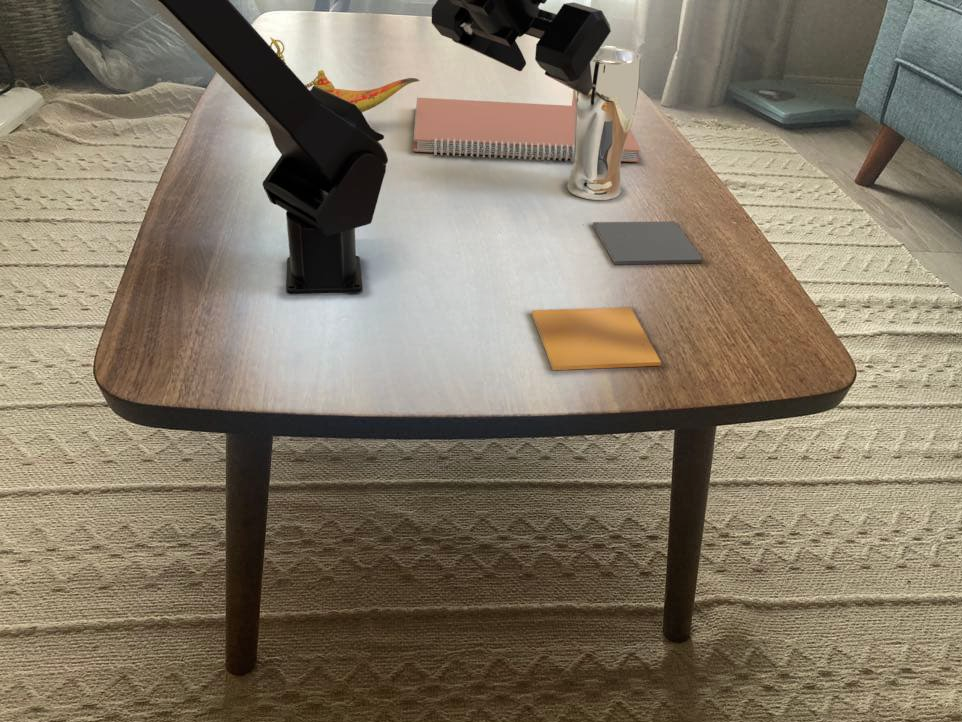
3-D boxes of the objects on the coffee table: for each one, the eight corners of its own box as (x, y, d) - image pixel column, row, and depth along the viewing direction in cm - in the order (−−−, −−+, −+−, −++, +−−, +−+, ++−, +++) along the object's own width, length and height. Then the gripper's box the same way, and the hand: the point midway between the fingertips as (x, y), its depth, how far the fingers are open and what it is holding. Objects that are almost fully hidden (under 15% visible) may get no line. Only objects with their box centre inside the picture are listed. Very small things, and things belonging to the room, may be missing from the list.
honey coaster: (660, 365, 76) (661, 361, 75) (552, 370, 74) (553, 366, 74) (630, 311, 83) (630, 307, 83) (531, 314, 81) (531, 310, 81)
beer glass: (573, 203, 102) (588, 62, 93) (555, 178, 107) (568, 43, 99) (633, 201, 104) (653, 62, 95) (612, 177, 109) (629, 44, 100)
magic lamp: (421, 143, 113) (422, 50, 107) (268, 141, 110) (259, 44, 103) (417, 124, 119) (418, 34, 112) (271, 122, 115) (263, 28, 109)
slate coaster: (702, 263, 92) (702, 259, 92) (614, 264, 90) (615, 261, 90) (674, 224, 99) (674, 221, 99) (592, 225, 97) (592, 222, 97)
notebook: (413, 156, 110) (413, 139, 108) (416, 110, 123) (416, 95, 122) (639, 167, 113) (642, 151, 111) (619, 121, 126) (620, 106, 125)
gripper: (610, -93, 75) (672, 34, 88) (457, -126, 85) (534, -7, 98) (533, 20, 75) (607, 131, 88) (389, -26, 85) (475, 79, 98)
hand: (554, 78), depth 93 cm, fingers open, 9 cm apart
